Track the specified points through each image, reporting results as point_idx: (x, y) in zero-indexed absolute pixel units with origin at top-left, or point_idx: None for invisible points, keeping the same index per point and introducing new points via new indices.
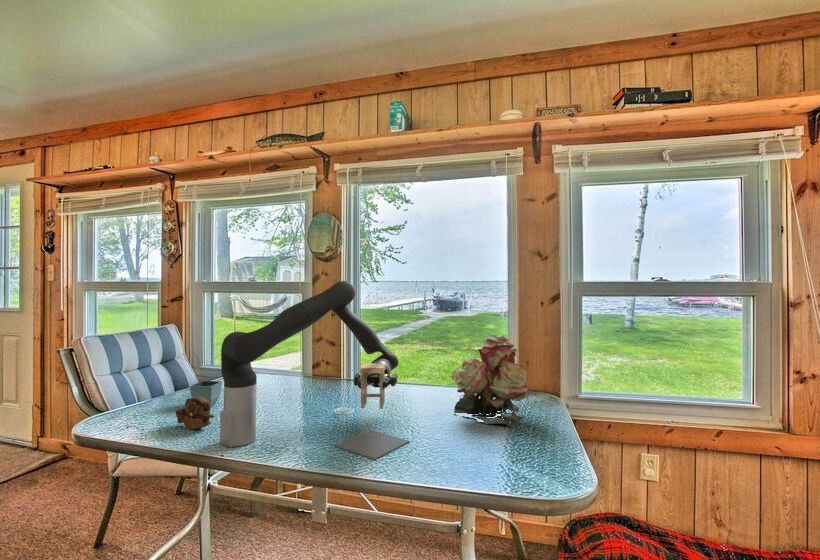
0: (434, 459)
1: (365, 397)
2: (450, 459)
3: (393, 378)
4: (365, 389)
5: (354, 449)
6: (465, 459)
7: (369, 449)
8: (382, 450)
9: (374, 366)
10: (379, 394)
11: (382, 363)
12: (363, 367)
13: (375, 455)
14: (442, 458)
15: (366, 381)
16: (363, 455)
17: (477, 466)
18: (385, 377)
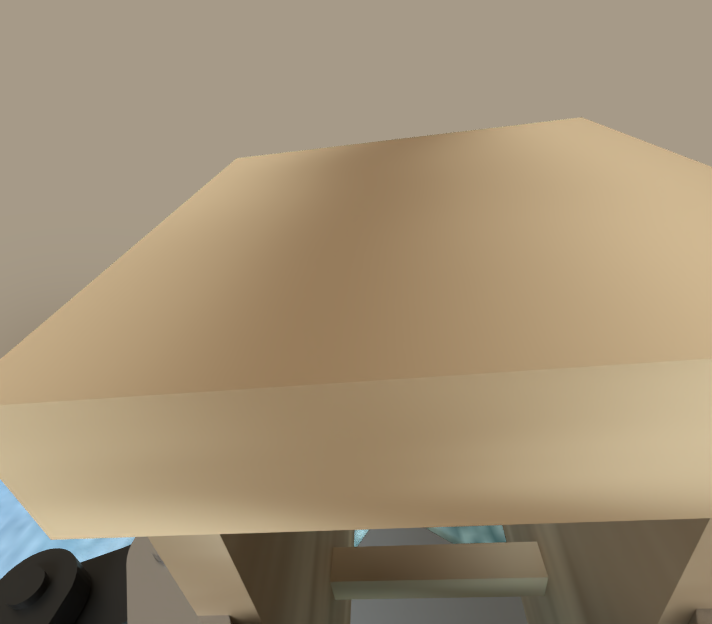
0: (131, 541)
1: (545, 614)
2: (65, 546)
3: (40, 558)
4: (557, 551)
5: (522, 607)
6: (4, 552)
7: (434, 613)
8: (359, 603)
9: (372, 173)
10: (349, 554)
11: (80, 397)
12: (541, 128)
13: (387, 538)
14: (92, 554)
15: (619, 602)
16: (447, 542)
17: (11, 497)
18: (180, 610)
